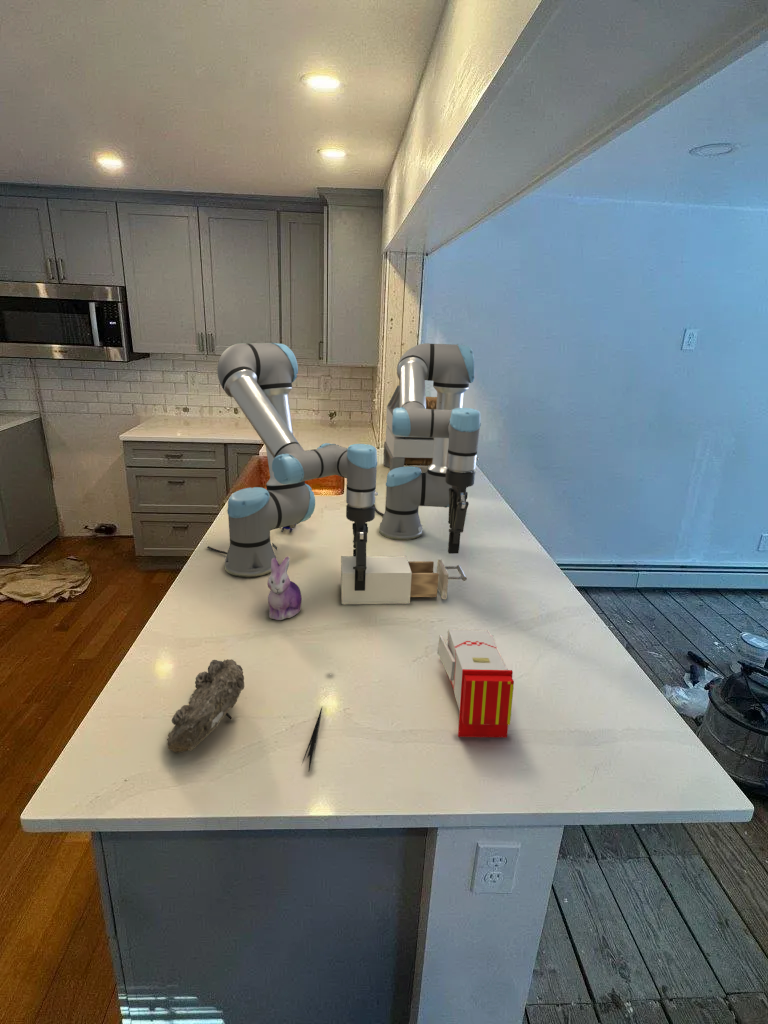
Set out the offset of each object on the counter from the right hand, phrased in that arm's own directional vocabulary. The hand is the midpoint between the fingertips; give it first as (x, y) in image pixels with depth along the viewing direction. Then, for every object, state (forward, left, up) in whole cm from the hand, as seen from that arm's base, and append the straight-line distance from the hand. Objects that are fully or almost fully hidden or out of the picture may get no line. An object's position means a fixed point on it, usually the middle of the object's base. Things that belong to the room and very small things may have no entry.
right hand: (453, 552), depth 155 cm
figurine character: (-68, -10, -13) cm, 70 cm away
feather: (+20, -58, -13) cm, 63 cm away
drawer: (-4, -6, -12) cm, 14 cm away
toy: (+32, -28, -13) cm, 45 cm away
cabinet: (-12, -17, -13) cm, 25 cm away
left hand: (-15, -21, -8) cm, 27 cm away
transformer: (-94, +79, -13) cm, 124 cm away
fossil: (+7, -74, -13) cm, 75 cm away
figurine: (-18, -42, -13) cm, 48 cm away
